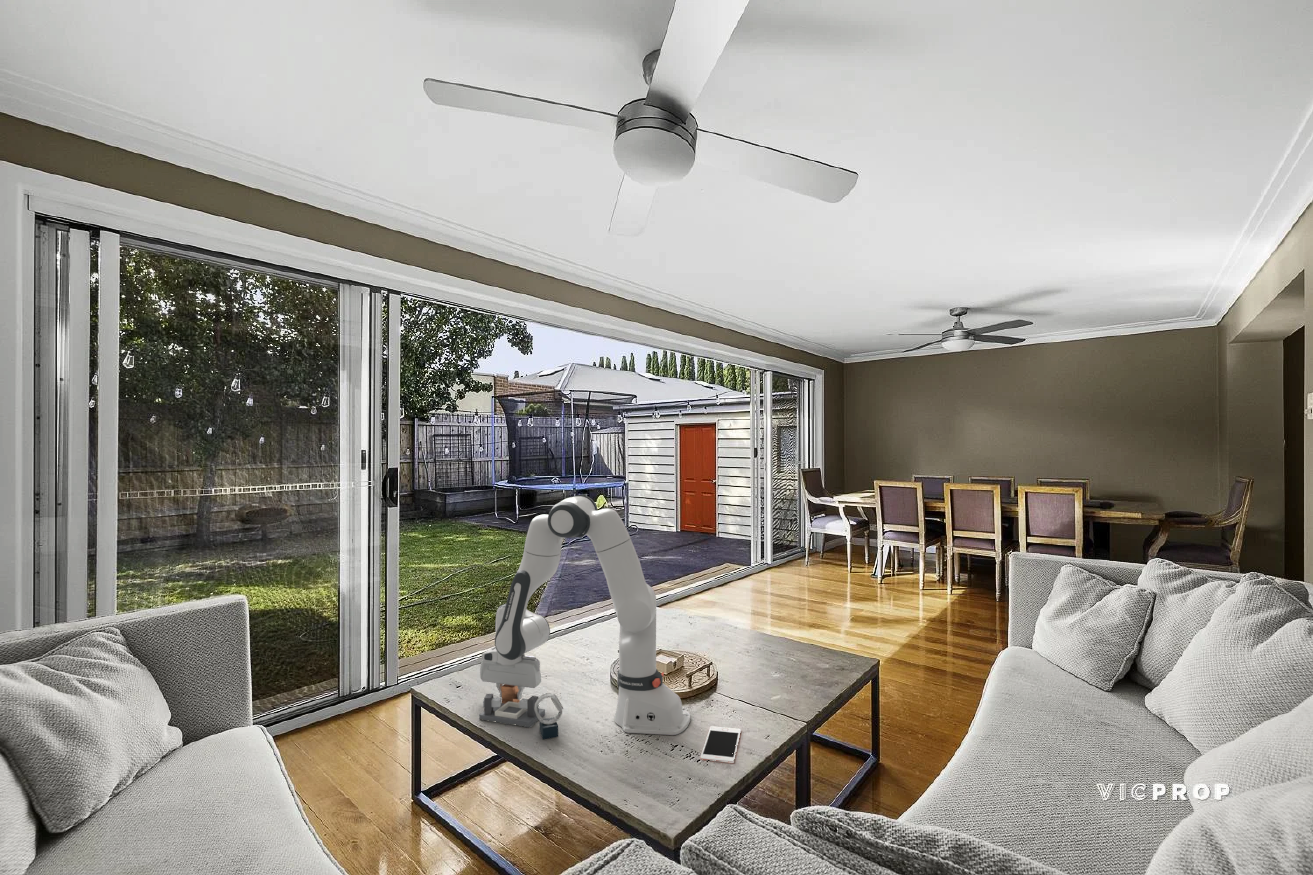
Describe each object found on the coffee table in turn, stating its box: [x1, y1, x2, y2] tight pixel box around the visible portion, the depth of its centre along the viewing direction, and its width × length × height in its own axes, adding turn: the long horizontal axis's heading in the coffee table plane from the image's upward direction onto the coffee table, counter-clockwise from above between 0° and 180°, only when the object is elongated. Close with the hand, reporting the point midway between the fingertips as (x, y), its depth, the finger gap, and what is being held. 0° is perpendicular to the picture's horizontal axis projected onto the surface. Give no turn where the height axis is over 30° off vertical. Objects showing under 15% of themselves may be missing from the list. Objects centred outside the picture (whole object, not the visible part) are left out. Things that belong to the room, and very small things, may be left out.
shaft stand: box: [478, 693, 546, 728], centre depth 184 cm, size 17×9×6 cm, turn 72°
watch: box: [534, 692, 564, 740], centre depth 173 cm, size 6×8×11 cm
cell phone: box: [699, 725, 742, 762], centre depth 166 cm, size 9×18×1 cm, turn 166°
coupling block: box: [501, 684, 521, 703], centre depth 193 cm, size 4×4×6 cm
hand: (510, 697), depth 193 cm, fingers closed on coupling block, 4 cm apart
